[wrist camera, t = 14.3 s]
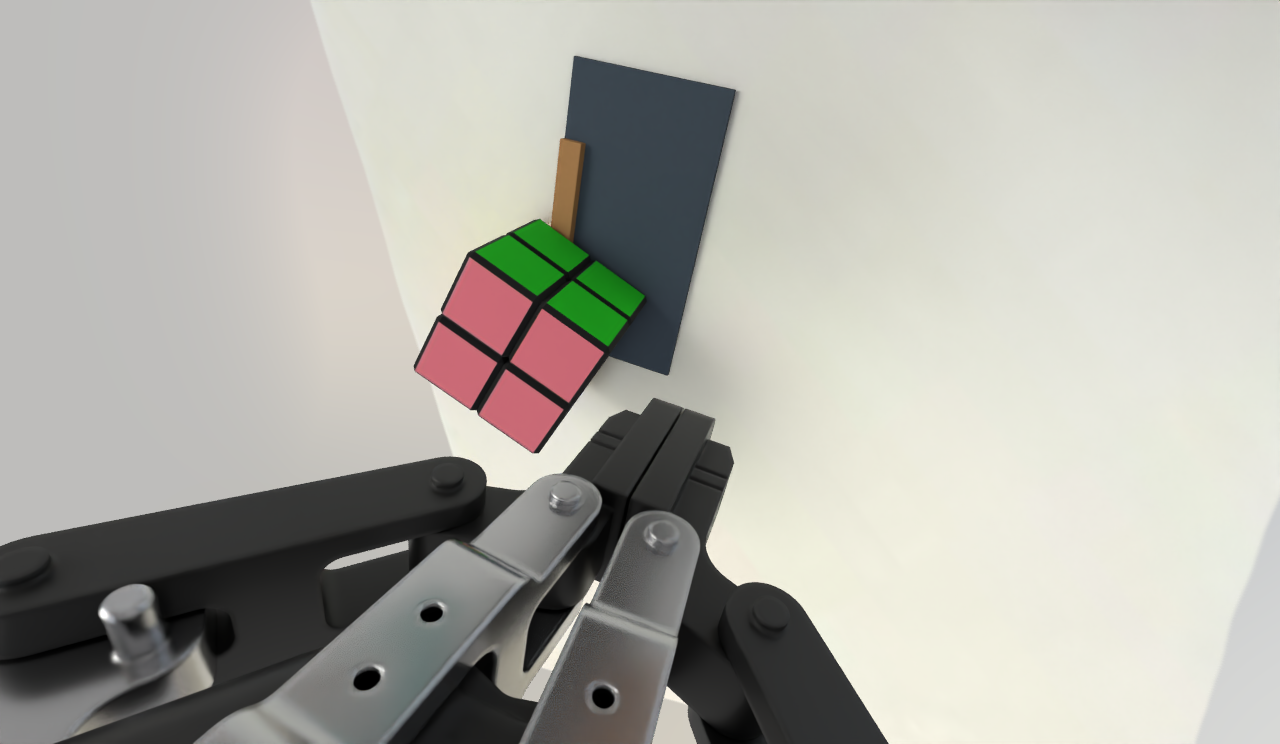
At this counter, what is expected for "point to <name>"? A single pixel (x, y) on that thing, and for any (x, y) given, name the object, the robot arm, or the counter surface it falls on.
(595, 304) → the puzzle cube
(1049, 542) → the counter surface
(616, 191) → the chalkboard
